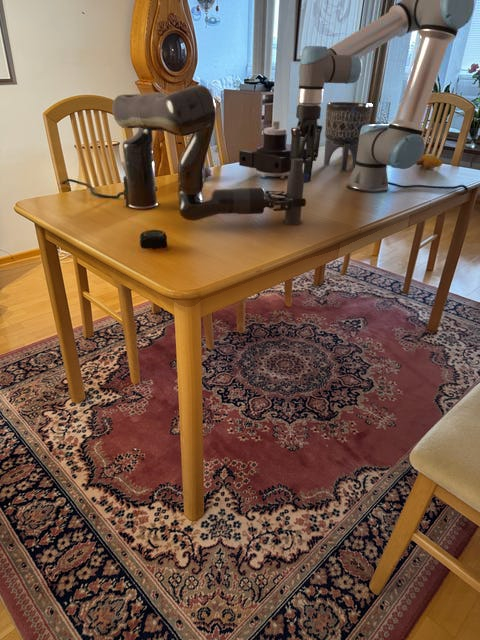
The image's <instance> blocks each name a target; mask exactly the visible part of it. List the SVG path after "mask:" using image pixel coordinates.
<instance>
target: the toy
mask: <svg viewBox="0 0 480 640" xmlns="http://www.w3.org/2000/svg"><path fill="white" fill-rule="evenodd" d="M415 165H416V166H421V167H425V168H426V169H428V170H430V169H435V168H438V167H441V166H442V165H443V161H442V160H440V159H438V157H437V156H436V155H434V154H430V153H428V154H425V155H422V156H421V158H420V159H419V161H418V162H417V163H416V164H415Z"/></svg>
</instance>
